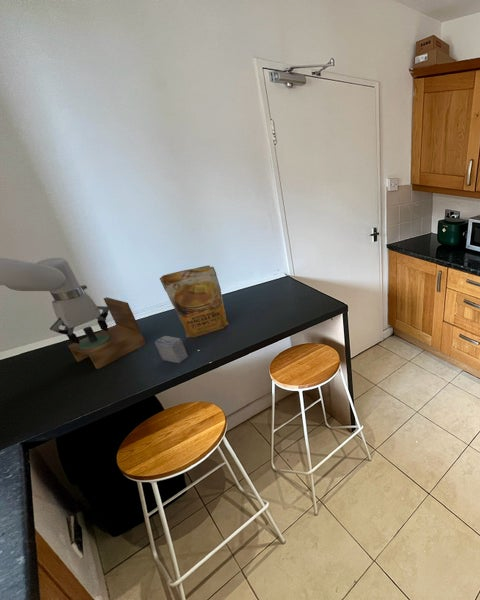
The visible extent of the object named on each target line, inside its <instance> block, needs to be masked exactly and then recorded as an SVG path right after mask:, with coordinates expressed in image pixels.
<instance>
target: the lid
mask: <svg viewBox="0 0 480 600" xmlns="http://www.w3.org/2000/svg"><path fill="white" fill-rule="evenodd" d="M82 330H83V332H84V334H85V336H86V337H85V338H86V339H84V338H83V339H84V340H83V341H81V342H80V343H79V344H78V348H80V349H90V348H94V347H97V346H100V345H102V344H104V343H106V342H107V341H108V340H109V339H110V336H109V335H107V334H100V335H95V334H96V333H95V331H94V329H93V328H92V326H86V327H84V328H83V329H82ZM87 337H88V338H87Z"/></svg>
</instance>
